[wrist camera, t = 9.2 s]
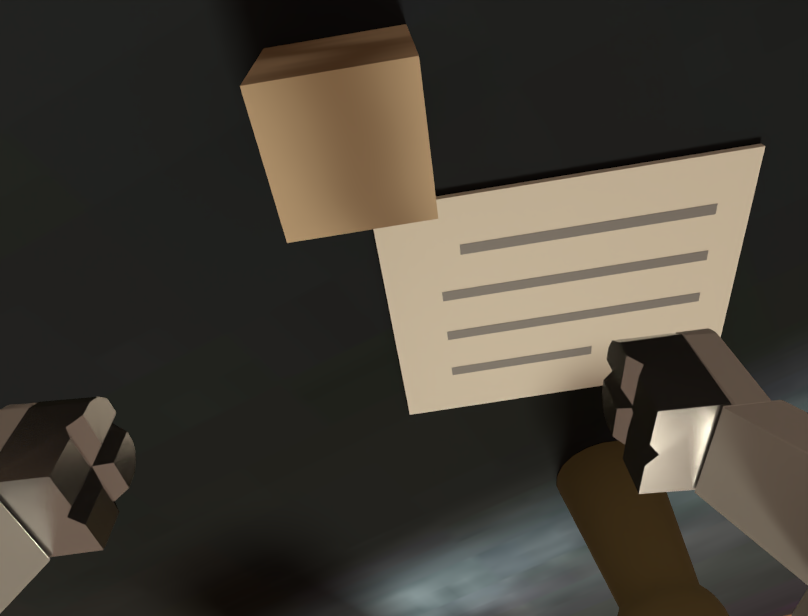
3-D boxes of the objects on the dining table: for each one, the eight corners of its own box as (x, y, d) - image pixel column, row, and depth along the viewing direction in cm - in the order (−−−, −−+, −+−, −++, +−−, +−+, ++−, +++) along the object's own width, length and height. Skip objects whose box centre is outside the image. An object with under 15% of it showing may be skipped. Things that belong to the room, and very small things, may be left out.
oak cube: (299, 181, 23) (287, 242, 19) (263, 47, 20) (239, 85, 16) (423, 161, 23) (438, 218, 19) (405, 23, 20) (418, 55, 16)
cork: (675, 451, 34) (789, 648, 25) (619, 511, 37) (702, 704, 28) (589, 431, 32) (678, 633, 23) (538, 495, 36) (599, 695, 27)
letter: (409, 410, 30) (409, 414, 30) (369, 207, 23) (369, 210, 23) (710, 364, 30) (713, 368, 30) (760, 143, 23) (765, 146, 23)
